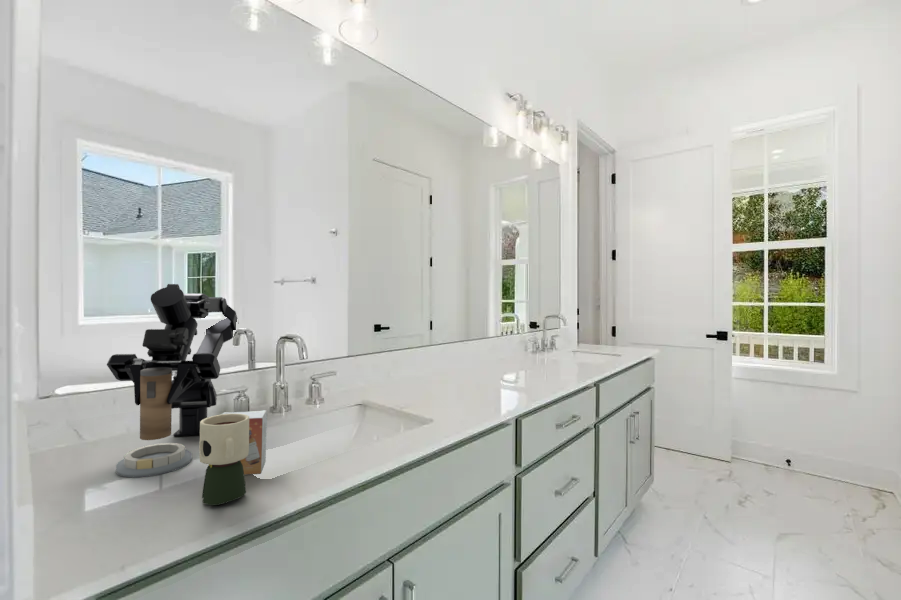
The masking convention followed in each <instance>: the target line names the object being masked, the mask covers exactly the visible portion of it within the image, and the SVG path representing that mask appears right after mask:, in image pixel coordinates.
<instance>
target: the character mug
mask: <svg viewBox="0 0 901 600" xmlns="http://www.w3.org/2000/svg"><path fill="white" fill-rule="evenodd" d="M221 414H222V413H221ZM221 414H217V415H212V416H207V418H205V419H203V420H201V421H200V435H199V443H198V445H199V446H198V450H199V451H198V452H199V457H198V458H199V462H200V463H202V464H204V465H208V466H207V467H206V469H205V475H204V481H203V484H202V485H203V487H202V492H201V493H202V494H201V499H202V503H203V504H205V505H207V506H218V505H221V504H222V505H223V504H227V503H229V502H231V501H235V500H237V499H239V498H241V497H244V496H245V494H246V493H247V489H246V479H245V475H244V470H243V465H242V463H241V461H240V460H242V459H244V458H246V457H247V456H248V453H249V416H248V415H245V414H222V415H221ZM226 502H227V503H226Z"/></svg>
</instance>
